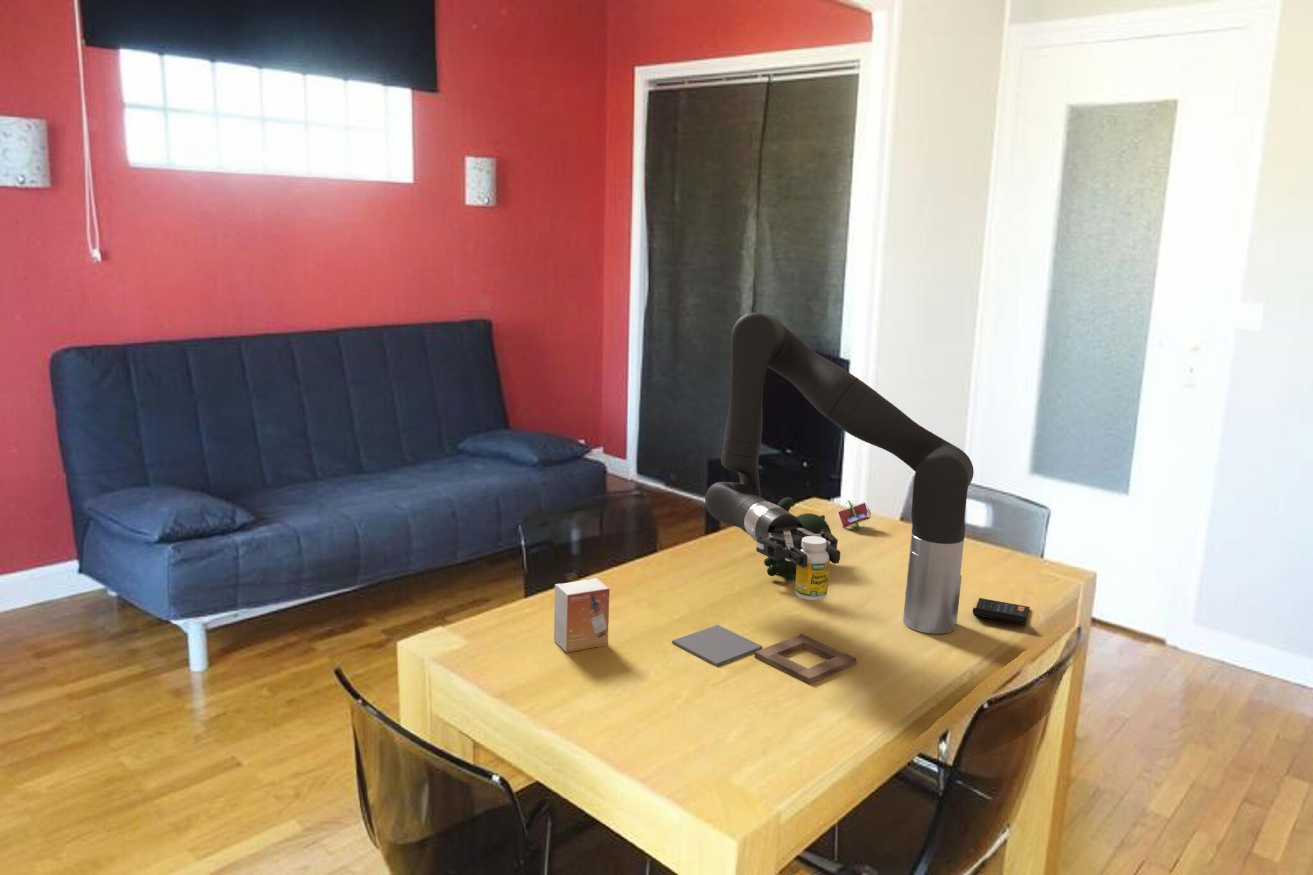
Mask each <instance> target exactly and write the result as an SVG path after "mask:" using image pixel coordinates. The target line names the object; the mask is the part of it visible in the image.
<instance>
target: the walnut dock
mask: <svg viewBox="0 0 1313 875" xmlns="http://www.w3.org/2000/svg"><path fill="white" fill-rule="evenodd" d="M801 649H804V650H807V651H809V652H811V653H812V654H813V653H814V654H815V655H818V656H820V657H823V658H824V659H827V660H824V661H822V662H820V663H817V664H815V665H812V666H810V667H805V666H803V665H802V664H800V663H798V662H796V661H793V660H791V659H789V658H787V657H785V656H786V655H789V654H790V653H793V652H796V651H799V650H801ZM754 659H757V660H759V661H761V662H763V663H765V664H768V665H769V666H772V667H773V668H775V669H777V670H779V671H781V672H783V673H785V674H788V675H789V676H791V677H794V678H795V679H798V680H800V681H802V682H803V683H806V684H808V685H811V684H813V683H815V682H817V681H820V680H822V679H824V678H827V677H829V676H831V675H834V674H836V673H838V672H840V671H843V670H846V669H847V668H850V667H852V666H854V665H856V664H857V657H855V656H852V655H850V654H848V653H846V652H844V651H841V650H839V649H837V648H834V647H833V646H830V645H828V644H825V643H823V642H821V641H819V640H816V639H815V638H812V637H810V636H808V635H807V634H806V635H805V634H803V633H800V634H798V635H795V636H793V637H790V638H787V639H784V640H783V641H782V640H781V641H780V642H778V643H775V644H772V645H769V646H767V647H764V648H762V649H760V650H758V651H755V652H754Z"/></svg>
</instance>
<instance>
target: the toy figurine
mask: <svg viewBox="0 0 1313 875" xmlns="http://www.w3.org/2000/svg"><path fill="white" fill-rule="evenodd" d="M777 505H778V506H779V507H781V508H783V509H784V510H786V511H788V512H789V511H790V509H791V508H792V507H794V505H795V501H794V499H792V497H788V496H787V497H783V498H782V499H781V500H779V502H778V503H777ZM796 517H797V518H798V519H799V520H800V521H801V523H802V525H803V527H804V529H806V530H808V531H811V532H813V533H814V534H821V530H823V529H826V530H828V531H829V532H830V533H831V534H832V531H831V528H830V526H829V524H828V522H827V520H826V516H825V515H824V514H823V515H817V514H815V513H802V514H800V515H797V516H796ZM763 564H764V565H765V567H767V569H766V572H767V575H768V576H770V577H774V576H776V575H777V574H778V575H783V577H784V579H785V580H786V581H792V580H793V579H794V578H796V564H795V563H793V562H792V561H786V559H785V558H782V559H781V561H775V560H773V559H771V558H769V557H766V558H765V559H764V562H763Z"/></svg>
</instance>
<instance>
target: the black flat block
mask: <svg viewBox="0 0 1313 875" xmlns="http://www.w3.org/2000/svg"><path fill="white" fill-rule="evenodd" d="M972 608H973V609H972V614H973V615H974V616H978V617H982V618H983V617H984V618H989V619H993V620H1000V621H1005V622H1011V623H1015V624H1016V623H1017V624H1019V625H1020V624H1021V625H1027V622H1028V618H1029V614H1028V613H1029V612H1030V608H1031V606H1027V605H1022V604H1016V603H1010V602H1004V601H999V600H994V599H988V598H982V597H979V599H978V601H977V603H976V607H972Z"/></svg>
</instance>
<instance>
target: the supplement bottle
mask: <svg viewBox="0 0 1313 875" xmlns="http://www.w3.org/2000/svg"><path fill="white" fill-rule="evenodd" d="M826 542H827V541H826V539H824V538H822V537H817V536H807V537H804V538H802V544H801V546H802V548H803V549H801V551H802V552H804V553H805V554H806V555H807V567H803V568H802V567H800V566H799V565H797V564H796V577H795V583H794V584H795V585H794V589H795V590H794V592H795V595H796V596H797V597H798V598H801V599H803V600H807V601H819V600H823V599H825V598H826V597H827V595H828V587H829V576H830V574H829V573H830V572H829V571H830V563H831V561H830V556H829V554H828V553H827V552H826V551H825V549H826Z"/></svg>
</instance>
